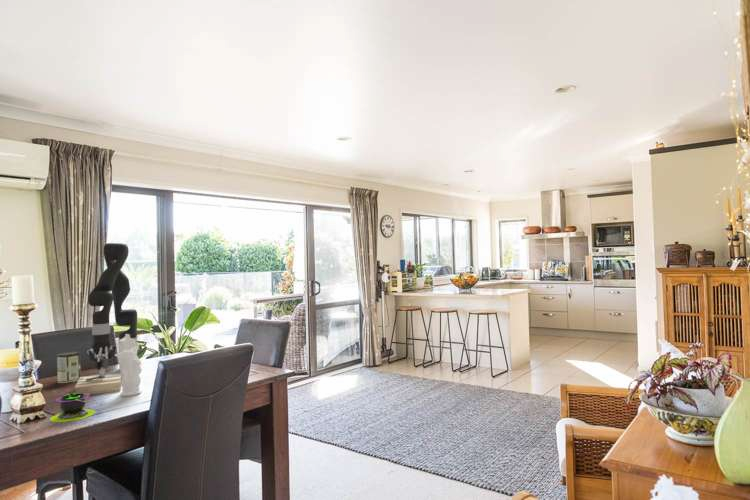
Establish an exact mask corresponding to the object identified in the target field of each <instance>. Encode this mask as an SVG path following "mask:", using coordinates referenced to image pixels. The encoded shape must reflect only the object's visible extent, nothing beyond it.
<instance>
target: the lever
mask: <svg viewBox="0 0 750 500" xmlns="http://www.w3.org/2000/svg"><path fill="white" fill-rule="evenodd" d="M100 366H101V369H100V370H98V371H99V372H98V373H99V374H98V375H99V376H98V377H94V378H90V379H86V381H89V380H93V379H96V378H104V377H105V374H106V368H105V367H107V368H109V359H108V358H103V357H100Z"/></svg>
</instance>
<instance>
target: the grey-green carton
mask: <svg viewBox="0 0 750 500" xmlns="http://www.w3.org/2000/svg"><path fill="white" fill-rule="evenodd" d="M56 367H57V369H56V370H57V371H56V372H57V373H56V374H57V383H58V384H68V383H69V382H70V383H74V382H78V380H79V378H80V377H82V376H81V351H80V350H79V351H77V350H75V351H65V352H60V353H57V354H56ZM70 383H69V384H70Z"/></svg>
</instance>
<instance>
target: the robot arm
mask: <svg viewBox="0 0 750 500" xmlns="http://www.w3.org/2000/svg"><path fill="white" fill-rule="evenodd" d="M103 257H104V260H105V265H106V267H107V268H106V269H105V270H103V271H102V272H101V274H100V275H99V276H100V277H99V279H98V282H97V284H96V285H95V287H94V288H93V289H92V290H91V291H90V293H89V294H88V297H87V302H88V304H89V306H91V307H102V309H101V310H97V311H95V312H93V313H92V329H91V333H92V335H91V336H92V338H91V341H92V342H91V343H92V346H91V348H90V349H87V350H86V351H85V353H86V355H87V356H88V357H89V359H90V361H92V362H94V363H95V369H96V370H98V371H99V370H100V369H101V366H100V358H108V360H110V359H112V358H113V356H114V355H115V352H116V349H117V347H116V346H115V345H111V325H110V312H111V308H112V305H113V309H114V320H115V324H116V326H117V327H127V326H128V327H129V328H128V329H127V330H124V331H122V332H119V333H118V354H119V353H120V340H121V339H122V338H124V337H125V334H129V335H130V338H132V339H135V340H136V345H137V343H138V312H137V310H136V309H134V308H133V309H132V308H131V309H130V308H129V309H123V308H122V306H123V304H124V303H125V300H126V299H127V297H128V296H129V294H130V291H131V287H130V286H131V285H130V281H129V278H128V276H127V275H126V274H125V273H124V272H123V271H122V268H123V266H124V265H125V263H126V261H127V258H128V257H129V246H128V244H126V243H120V242H118V243H117V242H108V243H105V244H104V246H103ZM93 353H94V354H93ZM136 356H137V357H138V352H137V353H136ZM118 364H119V365H118V366H119V368H118V369H119V370H120V358H119V357H118ZM105 369H108V367H105Z"/></svg>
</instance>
